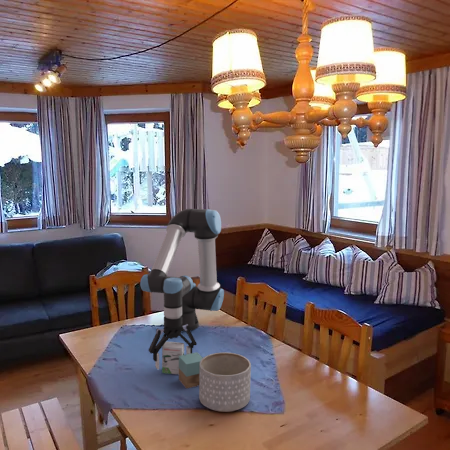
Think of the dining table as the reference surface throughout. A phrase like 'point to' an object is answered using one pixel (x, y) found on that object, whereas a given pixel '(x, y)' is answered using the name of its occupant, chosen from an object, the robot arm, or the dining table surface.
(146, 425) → the dining table surface
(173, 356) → the ink box
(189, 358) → the tower top block
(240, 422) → the dining table surface
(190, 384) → the tower bottom block
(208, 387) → the planter
